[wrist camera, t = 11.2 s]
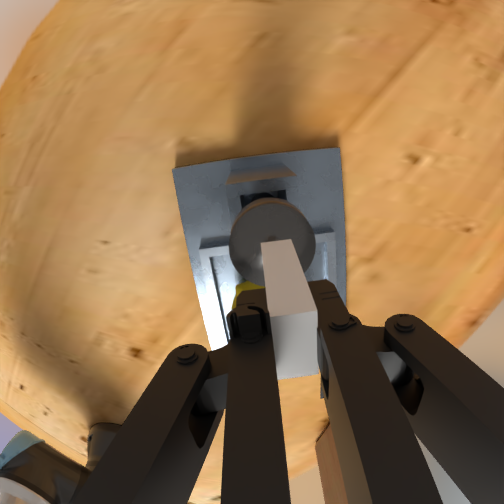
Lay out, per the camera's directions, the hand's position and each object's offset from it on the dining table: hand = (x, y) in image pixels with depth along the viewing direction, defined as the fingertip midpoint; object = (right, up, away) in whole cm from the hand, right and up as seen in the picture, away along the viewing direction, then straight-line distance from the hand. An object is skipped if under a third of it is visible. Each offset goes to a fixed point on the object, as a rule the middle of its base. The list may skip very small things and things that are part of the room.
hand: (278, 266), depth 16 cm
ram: (0, +5, +12) cm, 13 cm away
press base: (+1, 0, +22) cm, 22 cm away
